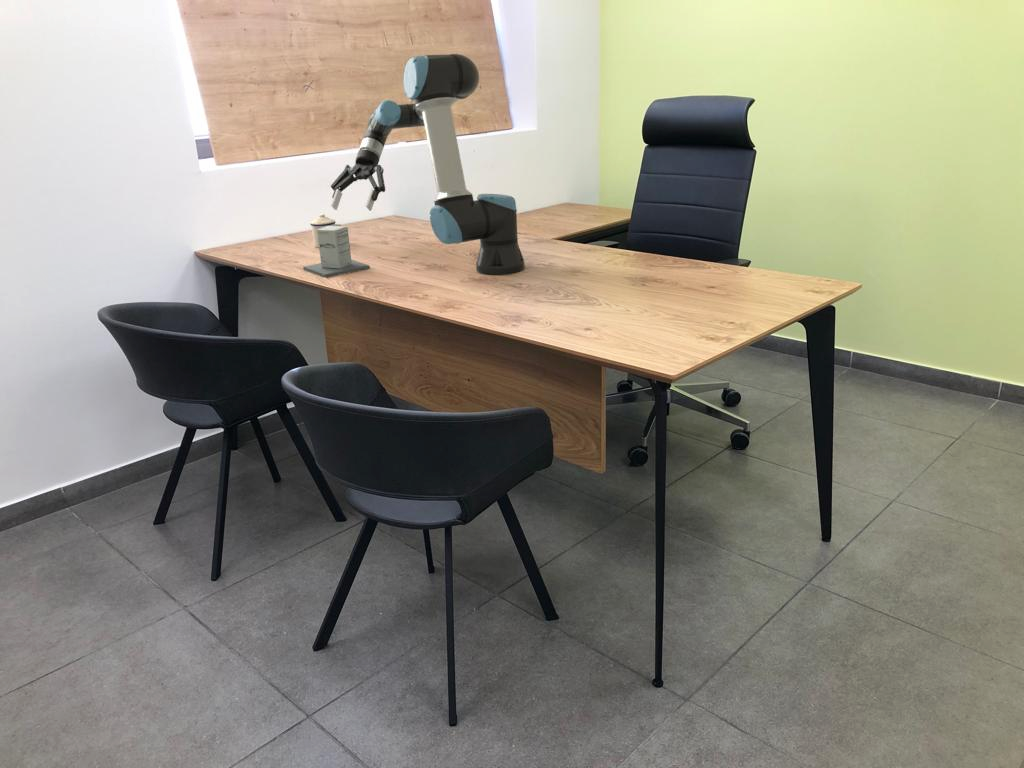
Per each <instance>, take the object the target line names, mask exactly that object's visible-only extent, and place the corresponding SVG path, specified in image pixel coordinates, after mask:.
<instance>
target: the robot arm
mask: <svg viewBox="0 0 1024 768" xmlns="http://www.w3.org/2000/svg"><path fill="white" fill-rule="evenodd" d="M479 83H480V74H479V70H478V68H477V66H476V63H474V61H473V60H471V58H469V57H467V56H465V55H463V54H460V53H459V54H458V53H454V54H453V53H451V54H423V55H416V56H412V57H411V58H409V60H408V61H407V63H405V67H404V72H403V90H404V94H405V95H406V97H407V99H409V100H411V101H414V103H406V104H399V103H397V102H395V101H392V100H389V99H387V100H383V101H382V102H381V103H380V104H379V106H377V107H376V110H375V111H374V113H372V114H371V116H370V118H369V120H368V122H367V127H366V129H365V132H364V135H363V138H362V140H361V143H360V146H359V148H358V152H357V155H356V157H355V163H354V165H353V166H350V165H349V164H346V165H345V167H344V170H343V171H342V172H341V173H340V174H339V175H338V176H337V178H336V179H335V180H334V181H333V182H332V183H331V185H330V188H331V189H332V190H333V194H332V196H331V198H332V201H331V203H330V206H331V207H332V208H333V210H335V211H337V210H338V207H339V206H340V202H341V199H342V196H343V191H345V190H346V189H347V188H348V187H349V186H350V185H352V184H353V183H354V182H357V181H358V180H359V181H361V180H366V181H367V180H369V182H370V184H371V186H372V188H371V190H370V192H369V195H368V198H367V201H366V203H365V207H366V208H367V209H368V211H369V212H370V211H371V212H372V210H373V207H374V205H375V202H376V201H377V200H378V197H379V194H380V193H381V192H382V193H385V192H386V186H385V181H384V179H385V178H384V168H383V167H382V165H381V164H379V163H380V159H381V156H382V153H383V151H384V148H385V144H386V142H387V140H388V137H389V135H390V134H391V132H392V131H393V130H396V129H406V128H414V127H415V128H417V127H424V128H425V130H424V131H425V134H426V139H427V144H428V150H429V155H430V160H431V161H430V162H431V165H432V166H431V167H432V171H433V174H434V175H433V176H434V181H435V186H436V191H437V195H436V197H435V198H434V200H433V203H434V205H433V207H431V209H430V212H429V215H430V216H429V221H430V225H431V229H432V231H433V233H434V235H435V237H436V238H437V239H438V241H440V242H441V243H443V244H445V245H453V244H456V245H457V244H461V243H466V242H467V243H468V242H473V241H480V247H479V251H478V255H477V260H476V264H475V267H476V272H478V273H480V274H484V275H507V274H508V275H509V274H515V273H518V272H521V271H523V270H524V269H525V260H524V258H523V257H524V256H523V254H522V252H521V251H522V250H521V248H520V245H519V241H518V239H519V237H518V220H517V219H518V218H517V217H518V215H517V214H518V213H517V212H518V209H517V204H516V203H517V202H516V199H515V198H514V197H513V196H511V195H507V194H502V193H501V194H499V193H479V194H477V197H476V200H474V196H473V193H472V192H471V191H469V190H468V189H467V186H466V181H465V176H464V170H463V165H462V160H461V155H460V150H459V143H458V139H457V133H456V128H455V122H454V118H453V112H452V106H453V104H455V103H456V102H457V101H458V100H464V99H467V98H468V97H469V96H471V95H472V94H474V92H475V91H476V90H477V88H478V85H479ZM375 173H376V177H377V182H376V180H375V178H374V176H373V175H374V174H375Z"/></svg>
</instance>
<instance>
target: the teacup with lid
mask: <svg viewBox="0 0 1024 768" xmlns="http://www.w3.org/2000/svg"><path fill="white" fill-rule="evenodd" d="M318 216H319V217H317V218H315V219H313V220H312V221H310V226H311V232H312V240H313V246H314V247H315V248H318V249H319V243H318V235H317V229H320V228H323V227H326V226H343V225H342V224H340V223H337V222H336V220H335V219H333V218H330V217H328V216H326V215H325V213H321V214H318Z"/></svg>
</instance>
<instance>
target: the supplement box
mask: <svg viewBox="0 0 1024 768" xmlns="http://www.w3.org/2000/svg"><path fill="white" fill-rule="evenodd" d="M317 235H318V243H319V248H318V250H319V257H320V263H321V266H322V268H324V267H325V268H337V269H341V268H343V267H346V266H348V265H351V264H352V261H351V260H352V252H351V246H350V245H351V244H350V236H349V226H347V225H346V226H345V225H344V226H343V225H342V226H326V227H323V228H320V229H317Z"/></svg>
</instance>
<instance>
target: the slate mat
mask: <svg viewBox="0 0 1024 768" xmlns="http://www.w3.org/2000/svg"><path fill="white" fill-rule="evenodd" d="M351 261H352V264H351V265H348V266H346V267H343V268H341V269H337V268H325V267H324V268H322V266H321V262H320V263H314V264H311V265H310V264H309V265H305V266H303V268H302V269H303V270H304V271H306V272H309V273H311V274H314V275H316V274H317V275H316V276H319V275H320V276H319V277H322V276H323V277H322V278H324V277H326V278H330V277H329V276H331V277H334V275H335V276H340V275H344V273H345V274H348V272H350V273H354V272H353V271H355V272H358V270H360V271H364V270H368V268H369V269H370V265H369V264H367V263H366V264H365V263H363V262H360V261H357V260H353V259H351ZM339 274H340V275H339Z"/></svg>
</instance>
